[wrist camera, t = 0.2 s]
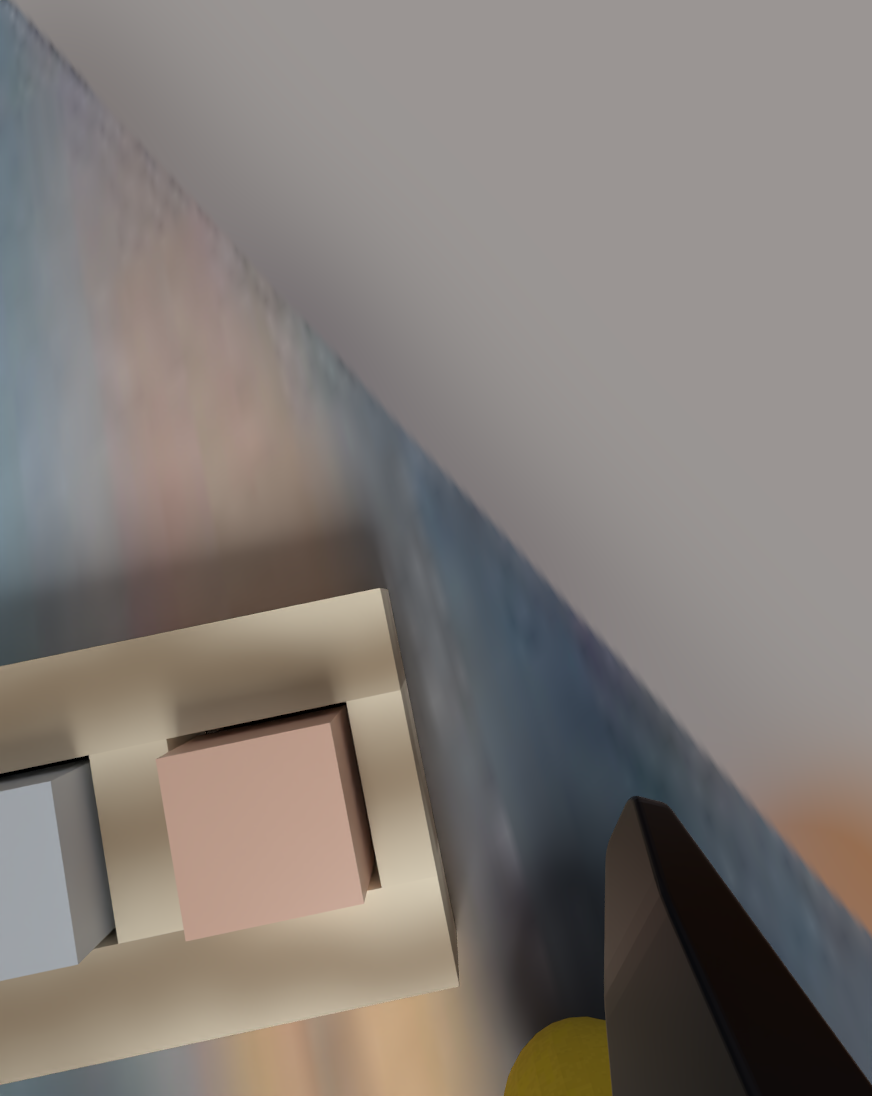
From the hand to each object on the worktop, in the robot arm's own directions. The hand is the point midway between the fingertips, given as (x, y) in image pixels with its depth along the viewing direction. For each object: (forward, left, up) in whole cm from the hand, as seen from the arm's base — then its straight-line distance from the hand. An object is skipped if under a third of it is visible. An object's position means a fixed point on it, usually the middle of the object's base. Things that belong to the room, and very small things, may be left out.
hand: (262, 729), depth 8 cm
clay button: (-4, +4, -13) cm, 14 cm away
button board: (-4, +12, -15) cm, 19 cm away
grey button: (-4, +12, -13) cm, 18 cm away
